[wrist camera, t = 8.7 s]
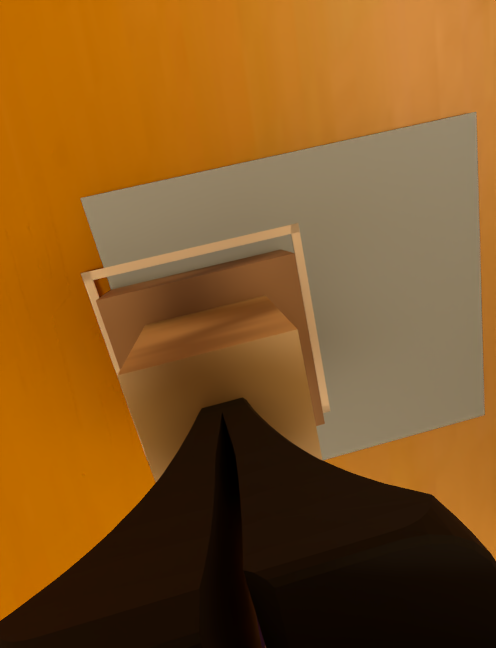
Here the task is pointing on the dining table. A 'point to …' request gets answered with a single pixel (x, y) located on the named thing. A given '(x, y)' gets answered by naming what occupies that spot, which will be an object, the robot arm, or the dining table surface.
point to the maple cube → (217, 375)
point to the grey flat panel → (337, 265)
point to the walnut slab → (211, 302)
